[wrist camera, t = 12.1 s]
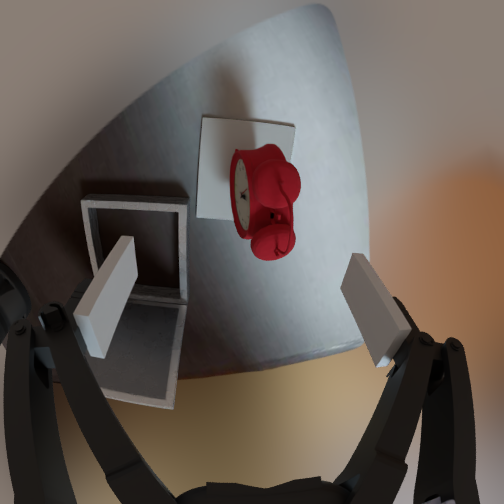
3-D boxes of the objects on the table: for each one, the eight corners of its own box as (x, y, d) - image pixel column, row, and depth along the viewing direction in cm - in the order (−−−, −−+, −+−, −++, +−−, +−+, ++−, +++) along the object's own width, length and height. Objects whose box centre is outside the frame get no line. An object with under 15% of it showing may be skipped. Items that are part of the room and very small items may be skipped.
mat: (196, 216, 36) (196, 217, 36) (203, 117, 30) (202, 117, 29) (279, 223, 37) (279, 224, 37) (295, 127, 31) (295, 127, 30)
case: (103, 284, 42) (97, 296, 39) (88, 193, 33) (78, 201, 31) (189, 294, 43) (186, 307, 40) (190, 197, 35) (186, 206, 32)
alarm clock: (229, 136, 31) (222, 165, 18) (282, 137, 31) (315, 167, 18) (230, 216, 36) (226, 289, 23) (278, 216, 36) (300, 288, 24)
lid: (95, 292, 38) (97, 297, 39) (63, 382, 26) (66, 386, 27) (186, 303, 40) (186, 308, 41) (172, 406, 28) (173, 409, 28)
